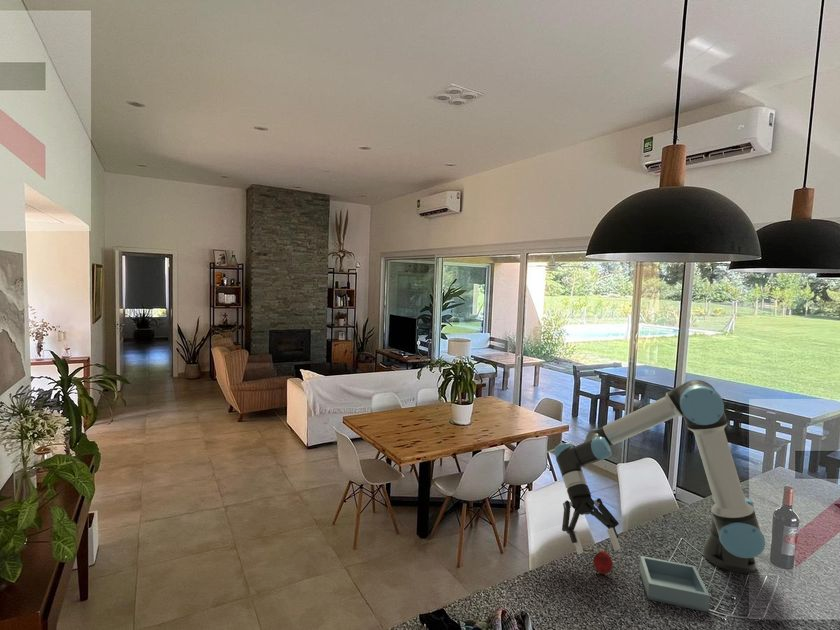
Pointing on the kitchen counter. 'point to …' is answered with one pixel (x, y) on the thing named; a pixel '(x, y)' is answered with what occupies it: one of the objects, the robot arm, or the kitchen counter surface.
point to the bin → (673, 583)
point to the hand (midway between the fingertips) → (599, 551)
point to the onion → (602, 562)
